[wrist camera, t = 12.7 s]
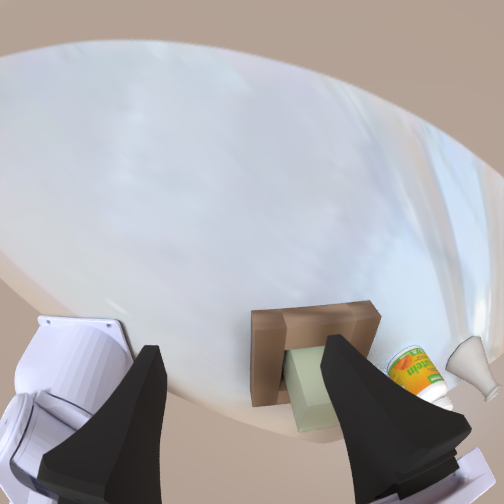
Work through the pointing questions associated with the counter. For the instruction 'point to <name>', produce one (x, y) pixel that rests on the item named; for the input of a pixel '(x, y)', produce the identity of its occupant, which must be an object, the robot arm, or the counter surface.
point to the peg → (308, 389)
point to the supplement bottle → (419, 376)
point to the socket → (302, 340)
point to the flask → (474, 367)
